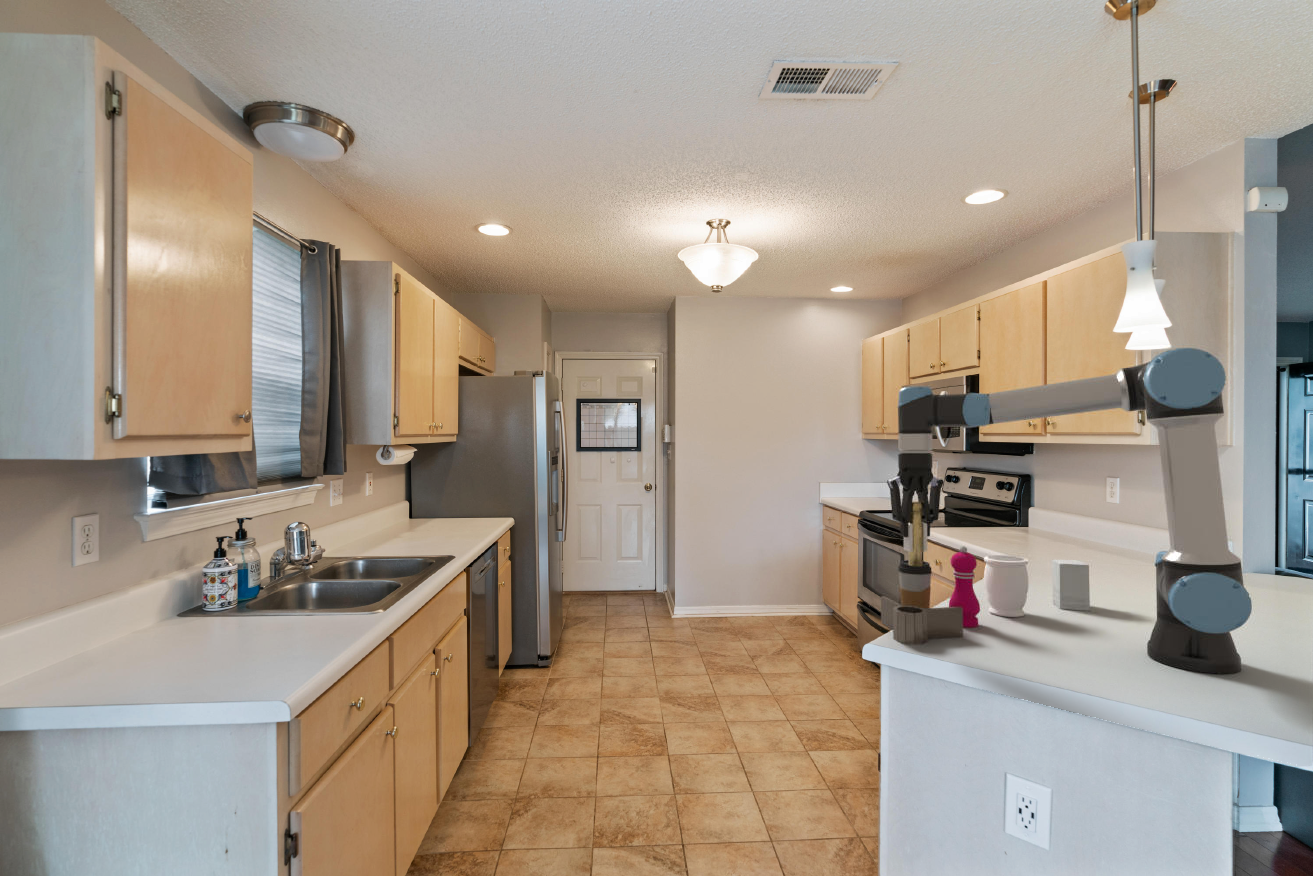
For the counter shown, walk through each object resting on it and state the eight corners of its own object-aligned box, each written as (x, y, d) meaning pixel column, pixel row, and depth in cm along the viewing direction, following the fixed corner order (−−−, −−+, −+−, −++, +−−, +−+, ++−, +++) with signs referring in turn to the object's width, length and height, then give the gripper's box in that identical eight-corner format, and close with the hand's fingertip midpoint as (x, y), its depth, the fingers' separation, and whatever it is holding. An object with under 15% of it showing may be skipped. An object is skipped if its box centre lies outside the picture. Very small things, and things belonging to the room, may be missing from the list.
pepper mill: (984, 623, 162) (982, 545, 162) (975, 630, 157) (974, 549, 157) (954, 618, 167) (953, 543, 167) (945, 624, 161) (943, 546, 162)
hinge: (971, 641, 148) (971, 611, 148) (903, 645, 146) (903, 614, 146) (930, 620, 165) (930, 594, 165) (869, 624, 163) (869, 597, 163)
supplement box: (1090, 611, 172) (1089, 564, 172) (1059, 609, 174) (1058, 563, 175) (1082, 604, 179) (1081, 560, 179) (1052, 602, 181) (1051, 558, 182)
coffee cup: (906, 613, 172) (906, 558, 172) (937, 619, 166) (937, 562, 166) (893, 619, 166) (892, 563, 166) (924, 626, 160) (923, 567, 160)
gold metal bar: (924, 566, 149) (924, 502, 148) (912, 566, 148) (912, 502, 148) (917, 563, 151) (917, 501, 151) (906, 564, 151) (906, 501, 151)
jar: (1018, 608, 175) (1017, 554, 176) (1036, 619, 165) (1035, 561, 165) (978, 608, 177) (977, 554, 177) (994, 618, 166) (993, 561, 166)
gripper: (937, 451, 154) (937, 547, 155) (875, 451, 152) (876, 548, 152) (955, 452, 147) (956, 552, 147) (891, 452, 145) (891, 554, 145)
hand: (915, 550), depth 150 cm, fingers closed on gold metal bar, 3 cm apart
